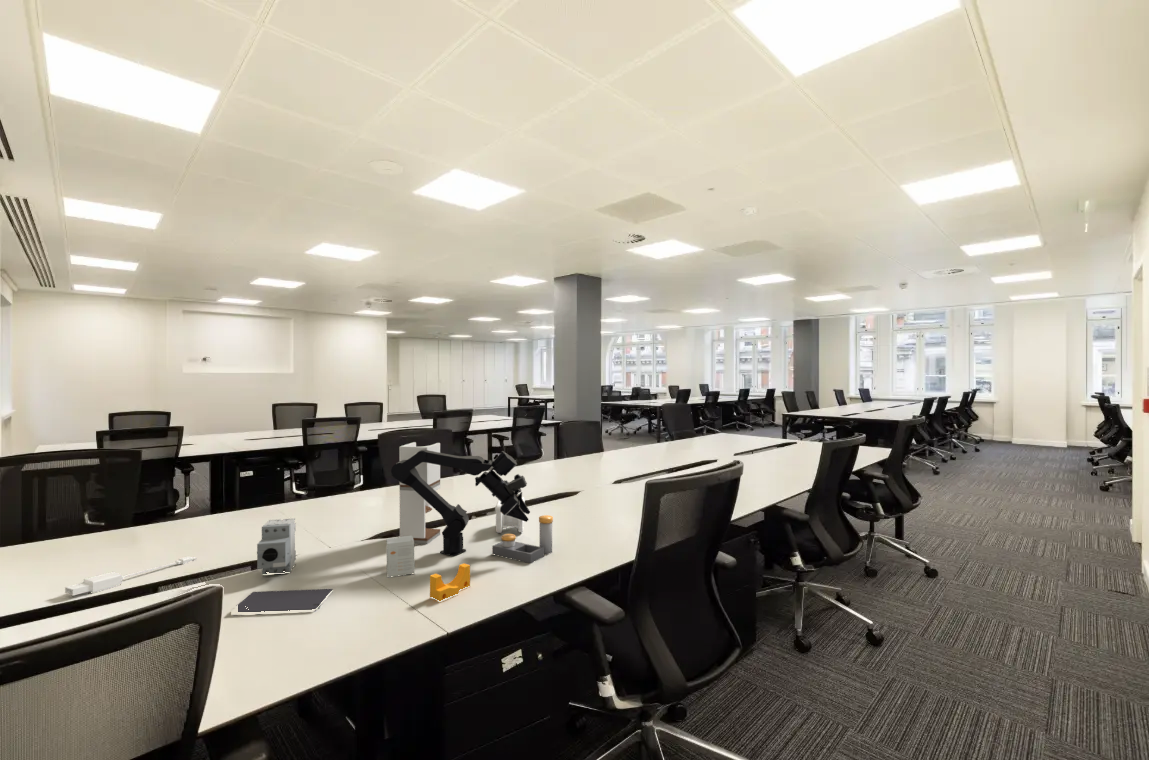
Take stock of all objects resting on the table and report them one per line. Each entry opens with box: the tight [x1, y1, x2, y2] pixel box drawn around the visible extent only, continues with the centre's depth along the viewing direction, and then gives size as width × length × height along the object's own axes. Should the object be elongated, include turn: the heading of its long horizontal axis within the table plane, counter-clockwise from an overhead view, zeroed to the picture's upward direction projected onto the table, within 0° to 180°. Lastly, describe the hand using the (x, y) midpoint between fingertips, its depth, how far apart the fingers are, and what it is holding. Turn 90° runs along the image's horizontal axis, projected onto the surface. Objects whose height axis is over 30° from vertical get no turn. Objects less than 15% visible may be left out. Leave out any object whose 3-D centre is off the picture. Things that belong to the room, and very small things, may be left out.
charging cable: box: [64, 555, 197, 596], centre depth 159 cm, size 5×32×3 cm, turn 156°
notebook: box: [237, 588, 334, 612], centre depth 142 cm, size 13×2×21 cm
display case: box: [398, 441, 441, 545], centre depth 196 cm, size 11×11×35 cm
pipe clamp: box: [429, 563, 471, 601], centre depth 149 cm, size 12×4×6 cm, turn 141°
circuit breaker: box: [256, 517, 297, 575], centre depth 162 cm, size 8×14×15 cm, turn 15°
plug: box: [538, 514, 554, 555], centre depth 183 cm, size 5×5×12 cm
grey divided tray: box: [491, 533, 545, 564], centre depth 179 cm, size 8×16×6 cm, turn 59°
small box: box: [386, 536, 416, 578], centre depth 163 cm, size 8×6×10 cm
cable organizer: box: [494, 496, 526, 534], centre depth 208 cm, size 15×11×12 cm
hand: (528, 516), depth 182 cm, fingers open, 9 cm apart
